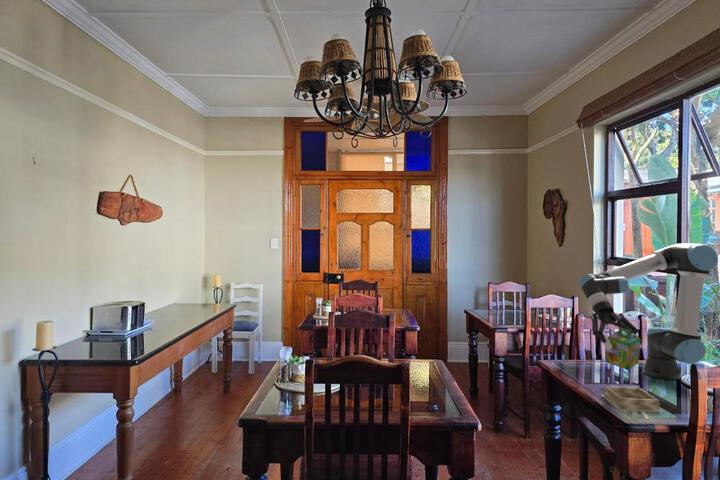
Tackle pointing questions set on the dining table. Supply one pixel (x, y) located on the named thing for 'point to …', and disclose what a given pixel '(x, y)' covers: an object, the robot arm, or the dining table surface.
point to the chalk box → (623, 349)
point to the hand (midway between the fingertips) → (625, 349)
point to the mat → (628, 409)
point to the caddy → (631, 398)
